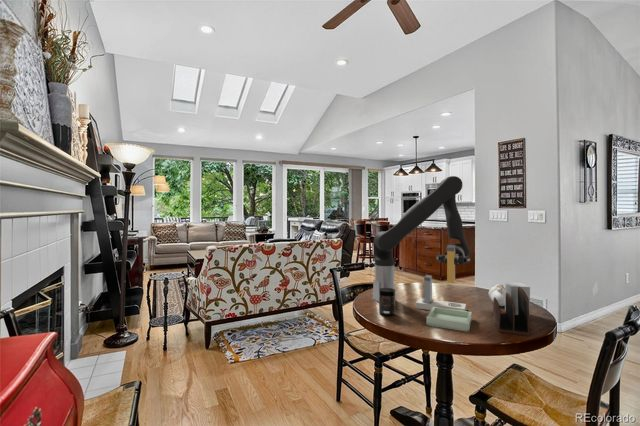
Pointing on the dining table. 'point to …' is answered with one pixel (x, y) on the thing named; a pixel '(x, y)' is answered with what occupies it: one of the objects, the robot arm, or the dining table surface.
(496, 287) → the cat figurine
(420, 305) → the block
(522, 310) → the letter holder
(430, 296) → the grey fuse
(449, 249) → the yellow grey long block
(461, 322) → the tray
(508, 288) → the supplement box
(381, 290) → the supplement container
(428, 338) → the dining table surface
